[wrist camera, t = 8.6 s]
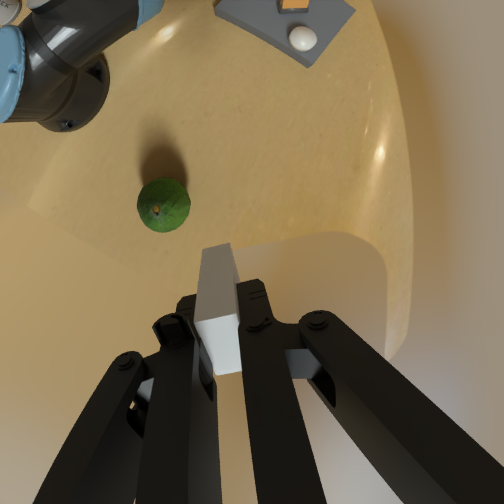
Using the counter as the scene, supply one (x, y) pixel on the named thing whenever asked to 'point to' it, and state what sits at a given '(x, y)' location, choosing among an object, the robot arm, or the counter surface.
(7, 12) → the travel mug
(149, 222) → the avocado
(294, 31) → the push button
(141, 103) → the counter surface
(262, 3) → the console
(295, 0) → the paddle switch
